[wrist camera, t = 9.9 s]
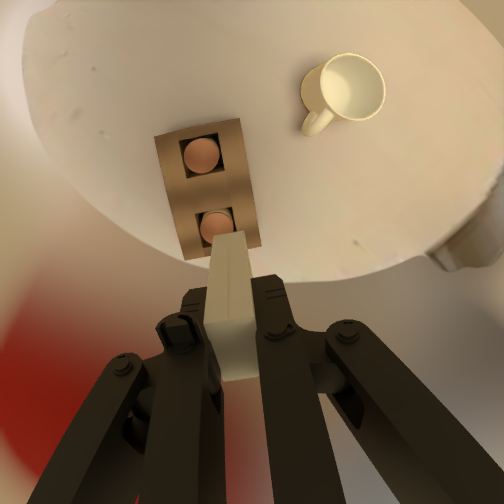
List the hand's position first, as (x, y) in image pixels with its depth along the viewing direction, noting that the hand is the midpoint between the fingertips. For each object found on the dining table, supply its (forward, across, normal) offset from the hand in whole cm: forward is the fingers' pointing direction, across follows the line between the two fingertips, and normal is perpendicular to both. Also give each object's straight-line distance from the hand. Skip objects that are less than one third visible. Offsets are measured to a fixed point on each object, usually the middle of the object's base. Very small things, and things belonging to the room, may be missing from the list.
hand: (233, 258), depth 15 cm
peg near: (+28, -3, +3) cm, 28 cm away
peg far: (+28, -3, -6) cm, 29 cm away
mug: (+30, +14, +7) cm, 34 cm away
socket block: (+29, -3, -2) cm, 29 cm away
